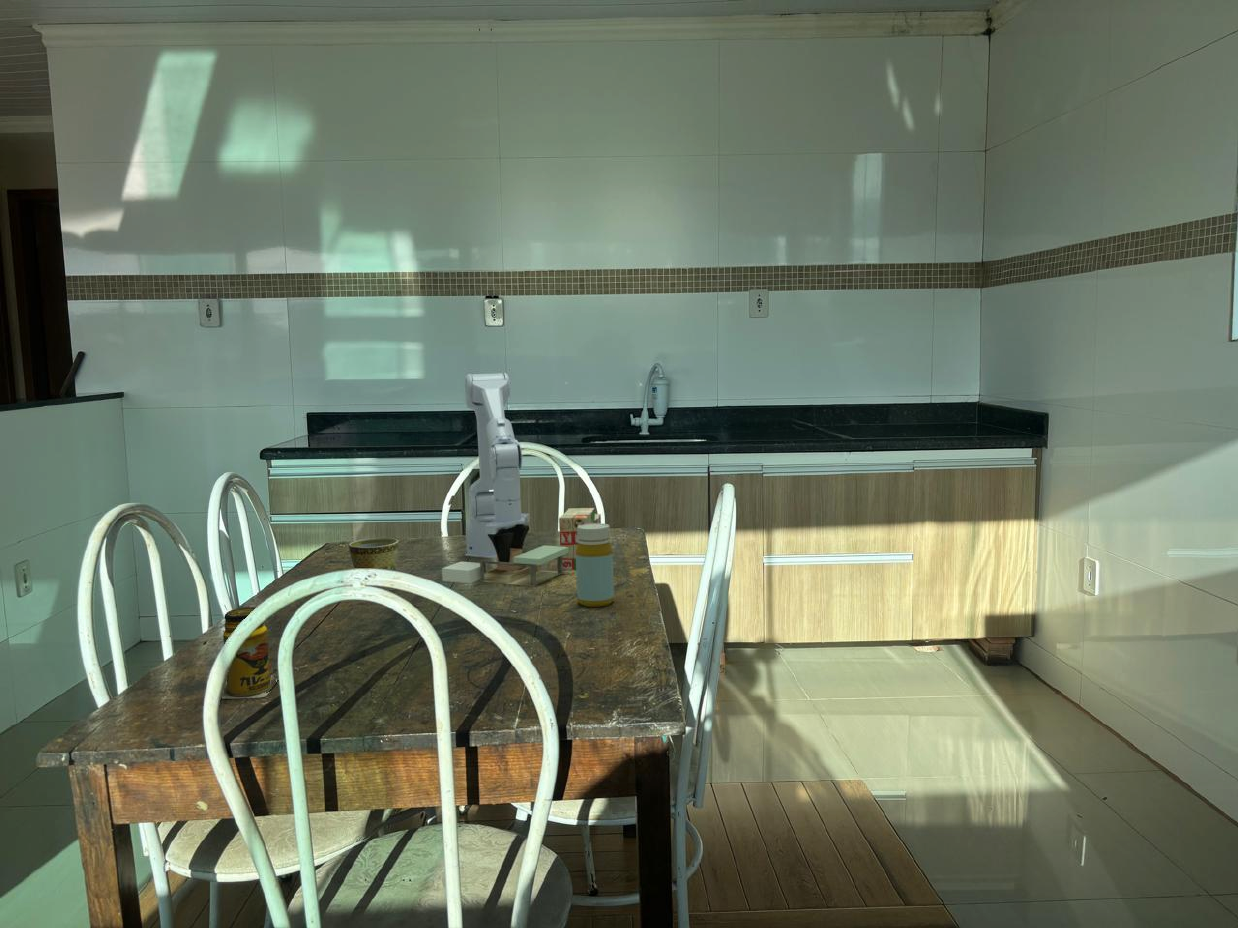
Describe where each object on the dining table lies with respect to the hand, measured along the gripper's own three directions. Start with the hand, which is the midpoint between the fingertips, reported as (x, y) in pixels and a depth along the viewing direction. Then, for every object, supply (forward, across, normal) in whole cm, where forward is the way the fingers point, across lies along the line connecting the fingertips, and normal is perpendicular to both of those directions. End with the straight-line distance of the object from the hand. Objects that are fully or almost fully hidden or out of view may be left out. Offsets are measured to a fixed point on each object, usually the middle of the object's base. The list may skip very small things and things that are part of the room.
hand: (509, 560), depth 205 cm
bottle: (+3, -13, -28) cm, 31 cm away
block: (+2, 0, 0) cm, 2 cm away
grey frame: (+3, 0, -3) cm, 5 cm away
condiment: (+3, -74, -1) cm, 74 cm away
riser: (+3, -6, +8) cm, 10 cm away
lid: (-1, 0, -8) cm, 8 cm away
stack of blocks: (+4, +19, -7) cm, 21 cm away
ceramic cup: (+4, -18, +22) cm, 29 cm away
